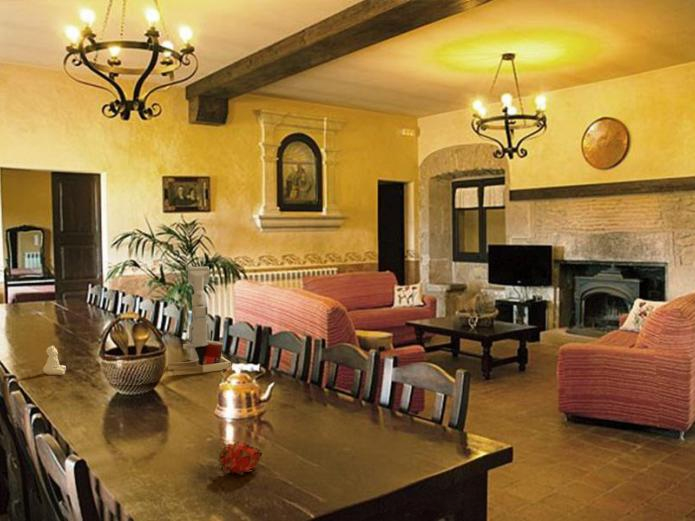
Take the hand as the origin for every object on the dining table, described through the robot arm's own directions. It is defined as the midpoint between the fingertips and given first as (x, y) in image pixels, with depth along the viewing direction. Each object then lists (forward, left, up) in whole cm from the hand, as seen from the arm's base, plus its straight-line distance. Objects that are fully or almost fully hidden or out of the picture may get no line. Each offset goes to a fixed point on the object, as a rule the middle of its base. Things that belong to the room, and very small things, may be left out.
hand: (200, 364), depth 263 cm
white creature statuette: (-25, -57, -3) cm, 62 cm away
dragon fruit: (+115, -21, -3) cm, 117 cm away
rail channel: (-1, -7, -2) cm, 7 cm away
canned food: (0, +4, -2) cm, 4 cm away
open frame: (-1, +5, -2) cm, 6 cm away
